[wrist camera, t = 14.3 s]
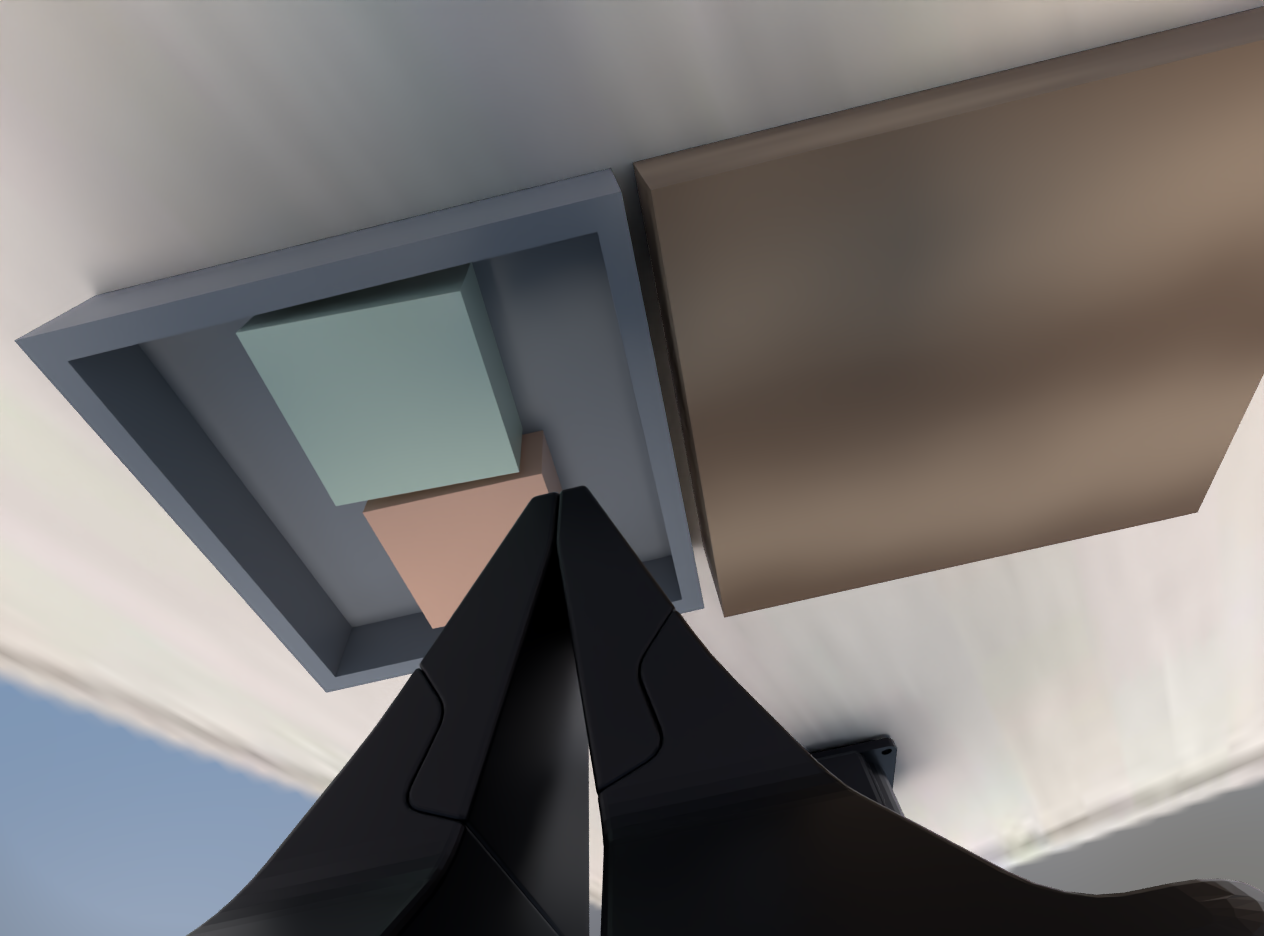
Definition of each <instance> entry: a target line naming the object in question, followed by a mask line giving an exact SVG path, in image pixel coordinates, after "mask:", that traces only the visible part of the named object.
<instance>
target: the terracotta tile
mask: <svg viewBox="0 0 1264 936" xmlns="http://www.w3.org/2000/svg"><path fill="white" fill-rule="evenodd" d="M561 491H562V487H561V484H560V481H559V478H558V475H557V472H556V469H555V466H554V462H553V459H552V456H551V453H550V450H549V447H548V444H547V441H546V438H545V435H544V432H543V430H542V431H537V432H533V433H528V434H524V435H522V444H521V457H520V470H519V472H517V473H511V474H506V475H501V476H495V477H490V478H485V479H479V480H474V481H468V482H463V483H458V484H452V485H447V486H442V487H436V488H431V489H425V490H420V491H415V492H409V493H404V494H399V495H393V496H388V497H383V498H377V499H372V500H368V501H367V503H366V506H365V508H364V511H363V514H364V516H365V518H366V519H367V521H368V523H369V524H370V526H371V527H372V529H373V531H374V532H375V534H376V536H377V537H378V539H379V541H380V542H381V544H382V546H383V547H384V549H385V551H386V552H387V554H388V556H389V557H390V559H391V561H392V562H393V564H394V566H395V567H396V569H397V571H398V572H399V574H400V576H401V577H402V579H403V580H404V582H405V584H406V585H407V587H408V589H409V590H410V592H411V594H412V595H413V597H414V599H415V600H416V602H417V604H418V605H419V607H420V609H421V610H422V612H423V614H424V615H425V617H426V619H427V620H428V622H429V624H430V625H431V627H432V629H434V628H439V627H443V626H445V625H446V624H447V622H448V621H449V619H450V618H451V616H452V615H453V613H454V612H455V611H456V609H457V608H458V606H459V605H460V603H461V602H462V600H463V599H464V597H465V596H466V594H467V593H468V591H469V590H470V588H471V587H472V585H473V584H474V582H475V581H476V580H477V578H478V577H479V575H480V574H481V572H482V571H483V569H484V568H485V566H486V565H487V563H488V562H489V560H490V559H491V557H492V556H493V554H494V553H495V551H496V550H497V548H498V547H499V546H500V544H501V543H502V541H503V540H504V538H505V537H506V535H507V534H508V532H509V531H510V529H511V528H512V526H513V525H514V523H515V522H516V520H517V519H518V517H519V516H520V515H521V513H522V512H523V510H524V509H525V507H526V506H527V504H528V503H529V501H530V500H531V499H532V498H533V497H535V496H538V495H543V494H547V493H551V492H558V493H559V494H560V492H561Z"/></svg>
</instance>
